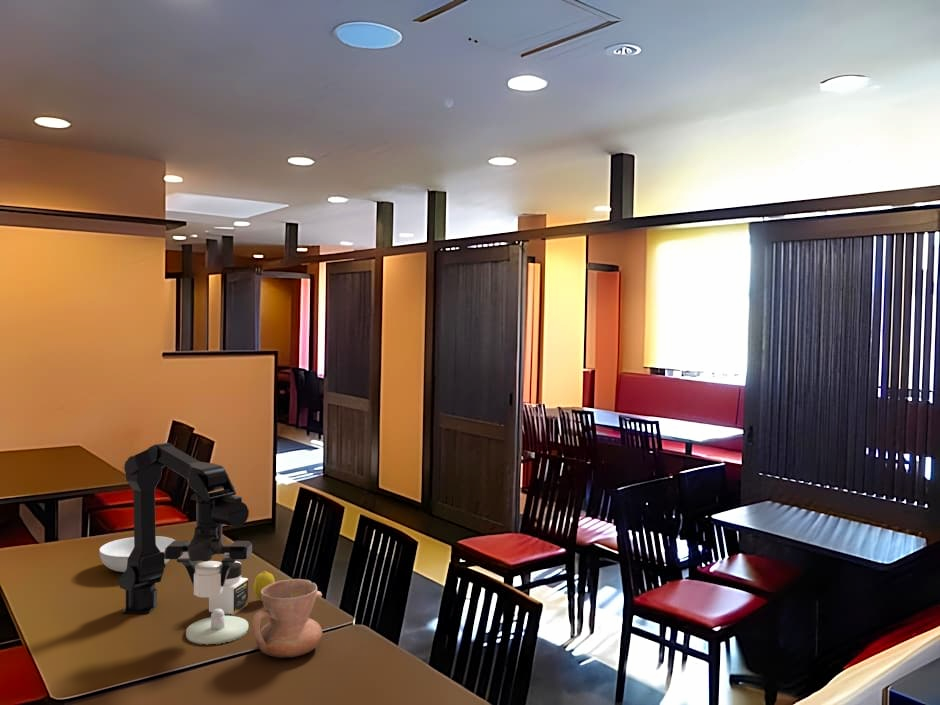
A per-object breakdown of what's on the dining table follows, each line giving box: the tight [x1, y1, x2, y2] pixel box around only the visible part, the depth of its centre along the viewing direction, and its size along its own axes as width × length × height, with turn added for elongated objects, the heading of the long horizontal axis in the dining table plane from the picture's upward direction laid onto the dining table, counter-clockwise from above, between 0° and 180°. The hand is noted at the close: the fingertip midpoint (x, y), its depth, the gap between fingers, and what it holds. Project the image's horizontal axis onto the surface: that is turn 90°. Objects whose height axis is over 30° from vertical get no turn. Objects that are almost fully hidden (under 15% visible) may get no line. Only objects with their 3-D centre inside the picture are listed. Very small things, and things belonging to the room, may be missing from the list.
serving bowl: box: [99, 535, 176, 573], centre depth 213 cm, size 21×21×7 cm
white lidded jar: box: [193, 560, 223, 598], centre depth 169 cm, size 6×6×6 cm
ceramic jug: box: [251, 578, 323, 659], centre depth 162 cm, size 18×14×14 cm
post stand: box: [185, 609, 249, 646], centre depth 171 cm, size 14×14×6 cm
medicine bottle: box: [208, 560, 249, 616], centre depth 185 cm, size 7×7×12 cm
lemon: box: [253, 570, 276, 600], centre depth 190 cm, size 6×6×8 cm
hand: (208, 585), depth 169 cm, fingers closed on white lidded jar, 6 cm apart
